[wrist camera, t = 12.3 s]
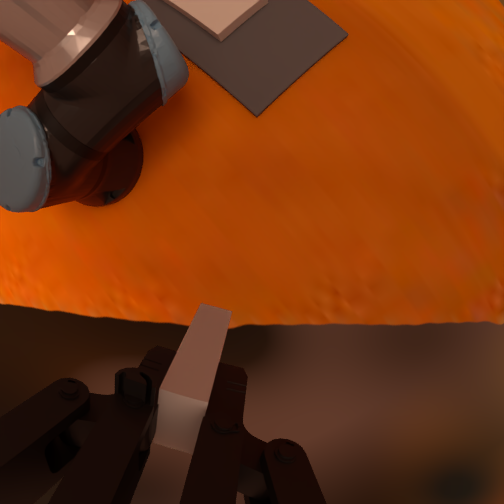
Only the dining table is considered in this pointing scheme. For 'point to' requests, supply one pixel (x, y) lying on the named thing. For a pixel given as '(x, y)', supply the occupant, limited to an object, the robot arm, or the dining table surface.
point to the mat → (256, 48)
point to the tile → (218, 13)
